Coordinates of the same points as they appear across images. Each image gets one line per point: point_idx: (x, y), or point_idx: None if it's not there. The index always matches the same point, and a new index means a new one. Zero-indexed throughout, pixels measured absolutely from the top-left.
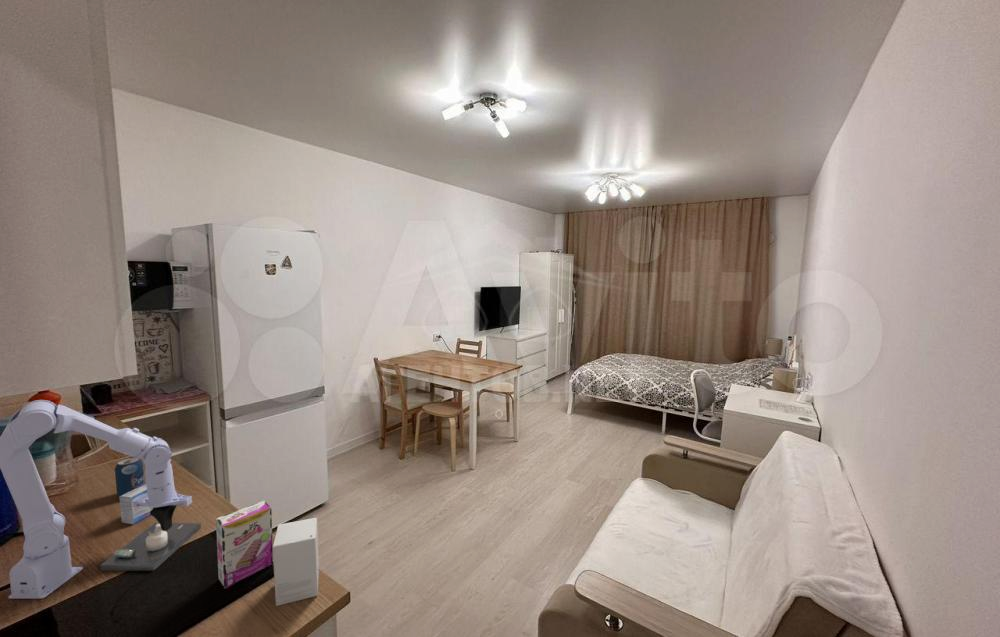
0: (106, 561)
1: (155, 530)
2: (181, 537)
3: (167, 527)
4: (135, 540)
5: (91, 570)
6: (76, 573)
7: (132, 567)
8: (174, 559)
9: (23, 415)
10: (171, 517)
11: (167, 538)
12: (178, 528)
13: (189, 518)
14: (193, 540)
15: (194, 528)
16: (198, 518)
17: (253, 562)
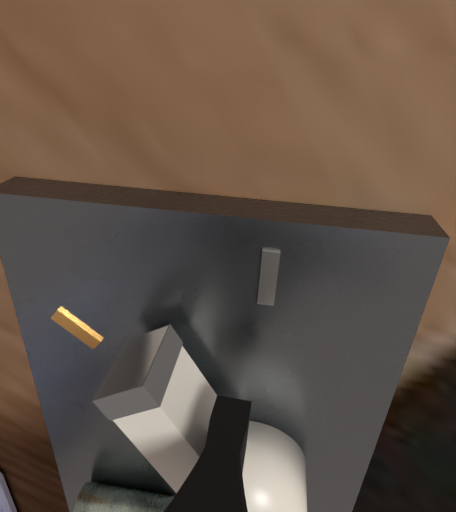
0: (73, 501)
1: (176, 487)
2: (364, 404)
3: (244, 457)
4: (55, 384)
5: (43, 476)
6: (8, 493)
7: None
8: (393, 487)
9: None
10: (239, 490)
11: (299, 477)
12: (269, 302)
13: (216, 20)
14: (435, 361)
15: (420, 311)
16: (323, 24)
17: None
